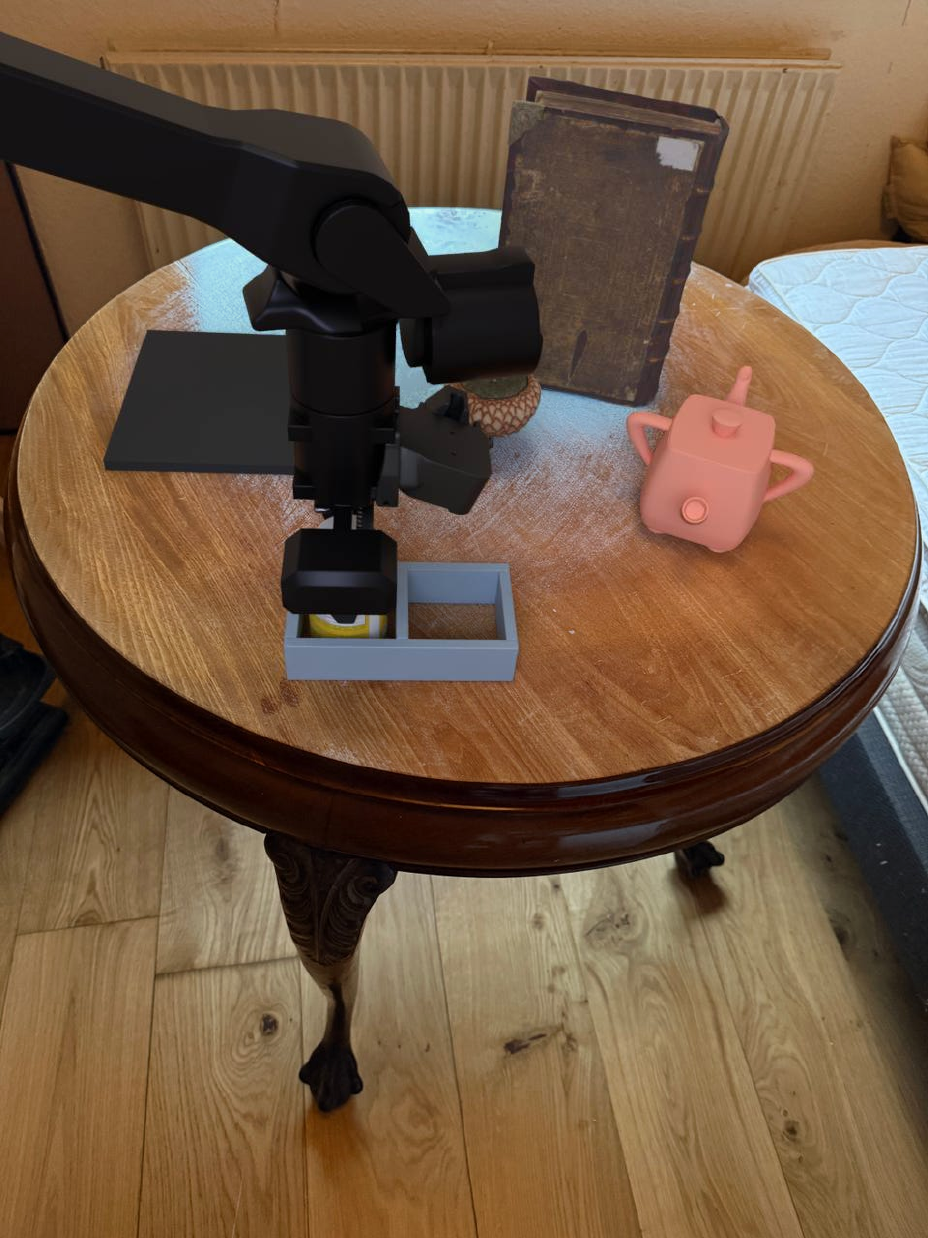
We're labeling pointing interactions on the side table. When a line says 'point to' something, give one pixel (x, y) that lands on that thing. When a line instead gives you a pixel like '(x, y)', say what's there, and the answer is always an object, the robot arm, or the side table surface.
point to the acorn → (501, 403)
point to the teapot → (712, 468)
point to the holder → (417, 654)
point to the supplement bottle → (359, 630)
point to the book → (607, 227)
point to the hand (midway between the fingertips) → (347, 586)
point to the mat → (205, 406)
